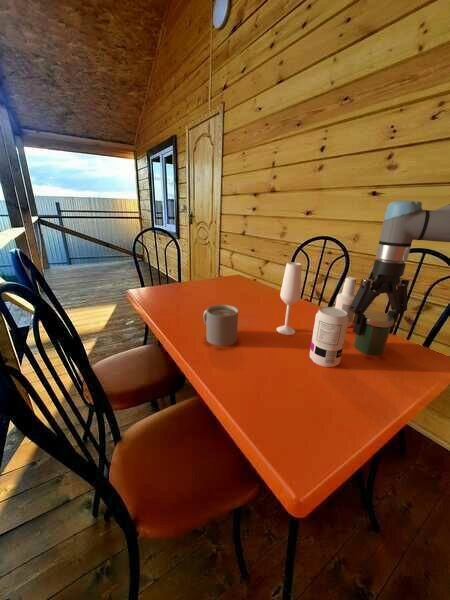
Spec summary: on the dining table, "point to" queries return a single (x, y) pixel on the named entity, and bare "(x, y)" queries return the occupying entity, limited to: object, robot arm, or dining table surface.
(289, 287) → the champagne flute
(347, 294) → the spray bottle
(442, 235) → the robot arm
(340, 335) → the supplement can
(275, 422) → the dining table surface
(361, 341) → the jam jar
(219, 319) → the coffee mug
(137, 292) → the dining table surface
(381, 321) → the jar lid
